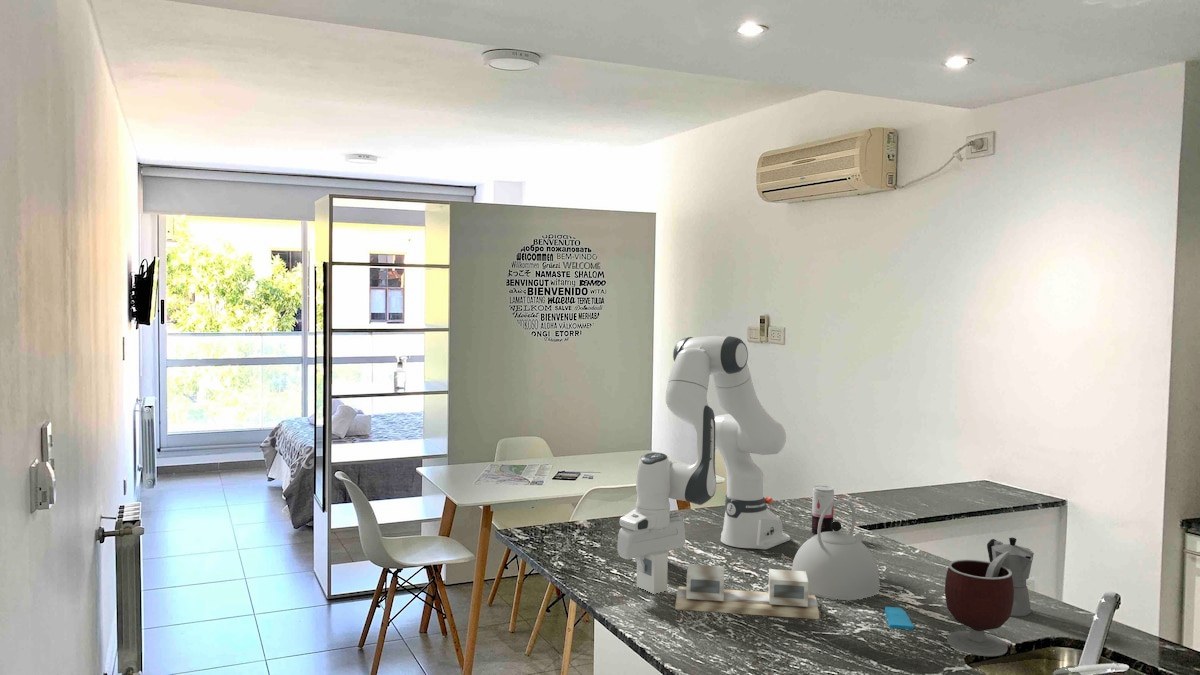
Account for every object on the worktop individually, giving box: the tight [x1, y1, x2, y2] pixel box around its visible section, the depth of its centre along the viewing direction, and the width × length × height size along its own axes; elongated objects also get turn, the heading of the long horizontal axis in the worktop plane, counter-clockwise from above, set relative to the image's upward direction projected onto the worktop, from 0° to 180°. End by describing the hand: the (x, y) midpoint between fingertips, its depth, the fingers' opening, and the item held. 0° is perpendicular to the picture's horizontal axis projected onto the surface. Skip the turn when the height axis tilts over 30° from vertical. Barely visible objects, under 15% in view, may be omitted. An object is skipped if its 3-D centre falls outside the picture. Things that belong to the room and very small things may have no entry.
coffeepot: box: [986, 537, 1035, 618], centre depth 213 cm, size 15×9×18 cm, turn 13°
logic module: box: [636, 551, 669, 595], centre depth 224 cm, size 4×7×10 cm, turn 36°
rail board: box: [674, 563, 820, 620], centre depth 213 cm, size 34×12×8 cm, turn 81°
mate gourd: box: [944, 551, 1014, 657], centre depth 191 cm, size 16×14×20 cm
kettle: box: [791, 499, 881, 601], centre depth 229 cm, size 25×23×22 cm
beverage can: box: [811, 485, 835, 536], centre depth 275 cm, size 6×6×15 cm
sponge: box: [884, 606, 915, 631], centre depth 205 cm, size 2×12×6 cm
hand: (651, 569), depth 224 cm, fingers closed on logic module, 5 cm apart
